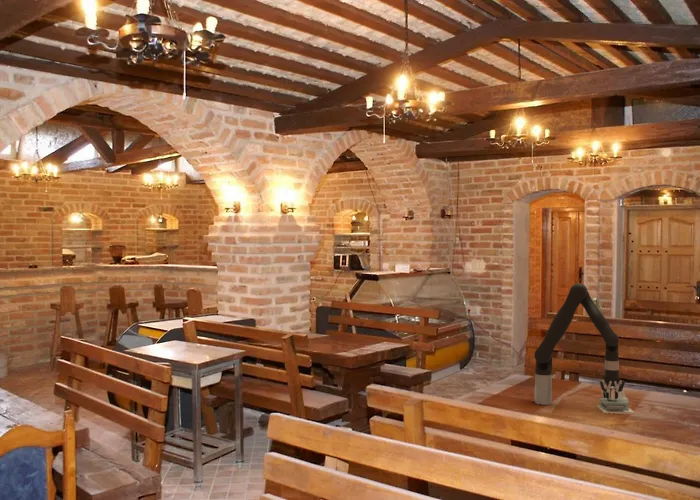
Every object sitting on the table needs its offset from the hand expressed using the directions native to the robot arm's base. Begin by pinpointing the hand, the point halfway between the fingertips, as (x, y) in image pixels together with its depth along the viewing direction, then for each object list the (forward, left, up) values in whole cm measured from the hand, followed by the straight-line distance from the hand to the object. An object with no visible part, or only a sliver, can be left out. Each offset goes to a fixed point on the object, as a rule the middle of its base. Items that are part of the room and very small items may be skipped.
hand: (611, 398), depth 357 cm
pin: (0, 0, -5) cm, 5 cm away
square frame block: (+1, -2, -6) cm, 7 cm away
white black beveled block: (+7, +16, -7) cm, 19 cm away
